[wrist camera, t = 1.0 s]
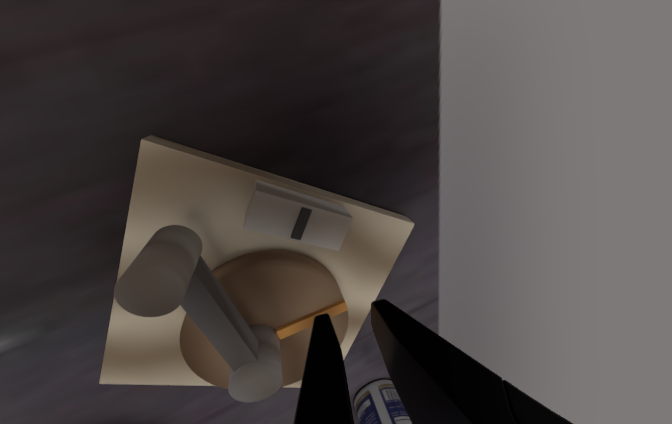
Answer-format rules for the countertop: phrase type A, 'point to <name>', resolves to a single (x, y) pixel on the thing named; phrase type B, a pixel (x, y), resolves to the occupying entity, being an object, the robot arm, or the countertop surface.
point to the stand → (240, 245)
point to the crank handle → (234, 309)
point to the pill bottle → (380, 404)
